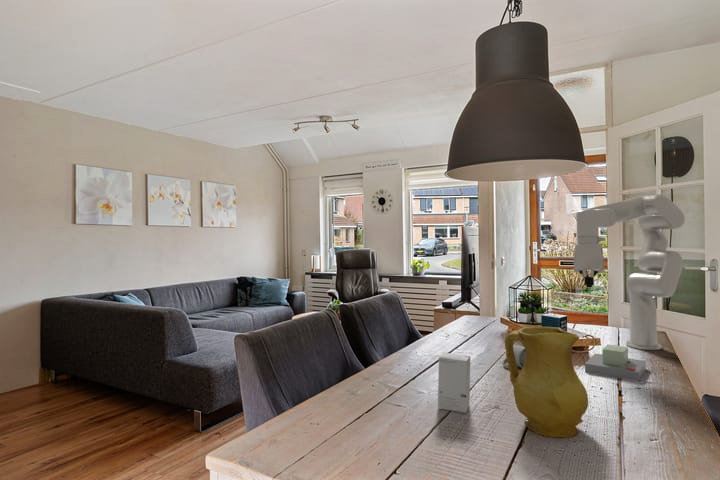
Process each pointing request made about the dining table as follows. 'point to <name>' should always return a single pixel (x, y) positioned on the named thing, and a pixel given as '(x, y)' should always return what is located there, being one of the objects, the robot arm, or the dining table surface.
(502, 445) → the dining table surface
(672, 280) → the robot arm
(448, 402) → the skincare box
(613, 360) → the plug
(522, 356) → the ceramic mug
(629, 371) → the socket plate
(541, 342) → the pitcher
